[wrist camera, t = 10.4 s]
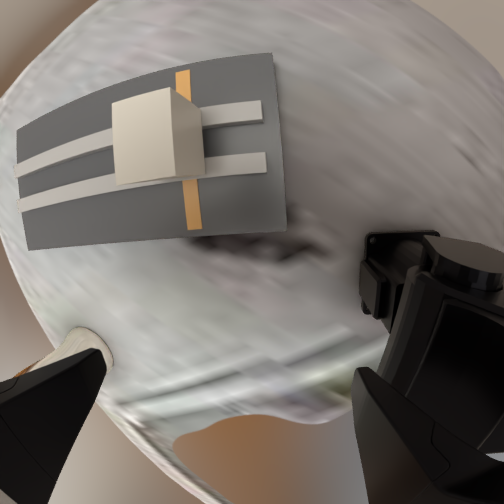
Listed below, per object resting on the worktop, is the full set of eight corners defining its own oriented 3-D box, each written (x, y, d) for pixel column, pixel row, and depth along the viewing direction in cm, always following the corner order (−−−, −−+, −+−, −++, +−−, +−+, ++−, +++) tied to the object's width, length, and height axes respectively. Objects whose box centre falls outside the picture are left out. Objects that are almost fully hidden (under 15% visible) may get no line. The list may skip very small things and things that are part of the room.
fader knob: (205, 113, 16) (170, 87, 10) (210, 174, 17) (175, 175, 11) (161, 121, 16) (111, 103, 10) (165, 179, 17) (116, 185, 11)
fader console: (272, 63, 17) (271, 45, 14) (286, 225, 20) (287, 235, 17) (30, 130, 19) (8, 130, 16) (41, 245, 22) (20, 254, 19)
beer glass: (95, 380, 27) (30, 467, 12) (58, 334, 26) (-22, 410, 11) (128, 366, 25) (56, 474, 11) (86, 313, 24) (-13, 403, 10)
